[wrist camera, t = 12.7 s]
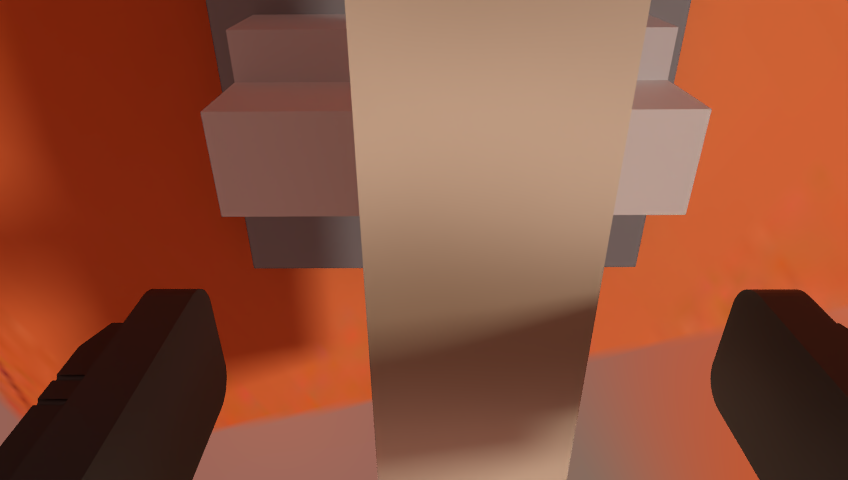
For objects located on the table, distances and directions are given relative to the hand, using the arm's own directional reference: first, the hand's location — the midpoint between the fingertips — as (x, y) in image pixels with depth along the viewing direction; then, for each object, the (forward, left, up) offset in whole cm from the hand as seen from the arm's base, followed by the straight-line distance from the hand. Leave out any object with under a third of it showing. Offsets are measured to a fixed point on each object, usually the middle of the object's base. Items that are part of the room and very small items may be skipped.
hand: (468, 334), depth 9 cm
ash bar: (0, 0, -7) cm, 7 cm away
